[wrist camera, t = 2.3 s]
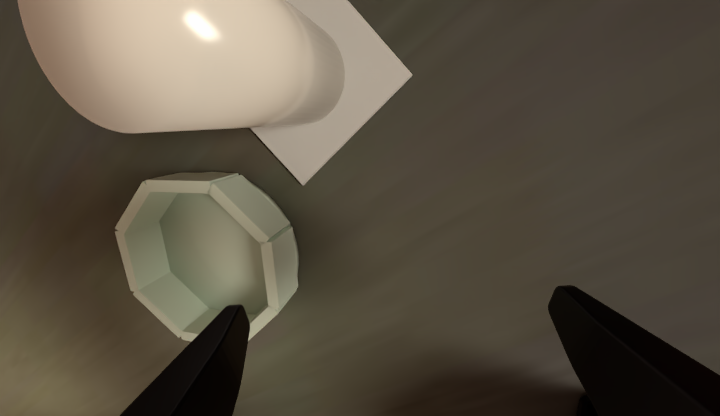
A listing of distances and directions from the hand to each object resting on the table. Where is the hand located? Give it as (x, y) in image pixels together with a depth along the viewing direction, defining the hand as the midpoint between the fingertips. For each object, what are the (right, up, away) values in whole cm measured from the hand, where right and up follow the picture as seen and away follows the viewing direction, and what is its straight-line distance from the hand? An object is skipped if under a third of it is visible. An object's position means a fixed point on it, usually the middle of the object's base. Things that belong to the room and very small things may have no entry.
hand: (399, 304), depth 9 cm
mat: (-5, +11, +11) cm, 16 cm away
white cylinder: (-5, +11, +10) cm, 16 cm away
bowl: (-12, 0, +16) cm, 20 cm away
